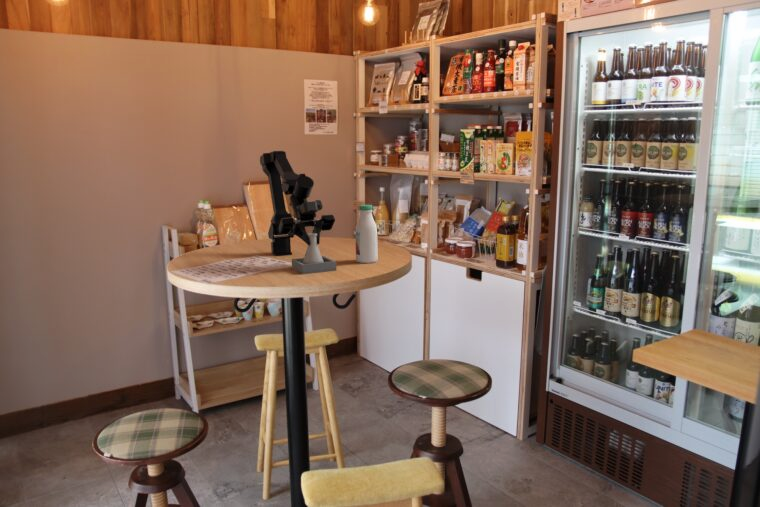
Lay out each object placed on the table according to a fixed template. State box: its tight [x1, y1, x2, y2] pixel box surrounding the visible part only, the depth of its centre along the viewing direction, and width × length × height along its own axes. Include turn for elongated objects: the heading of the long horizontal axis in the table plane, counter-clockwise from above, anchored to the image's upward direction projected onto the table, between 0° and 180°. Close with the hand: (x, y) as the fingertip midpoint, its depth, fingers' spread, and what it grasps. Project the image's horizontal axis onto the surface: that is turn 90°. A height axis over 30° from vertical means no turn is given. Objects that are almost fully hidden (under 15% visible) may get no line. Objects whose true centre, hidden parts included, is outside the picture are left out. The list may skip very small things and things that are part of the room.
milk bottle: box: [355, 204, 379, 264], centre depth 215 cm, size 8×8×20 cm
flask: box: [303, 232, 324, 264], centre depth 204 cm, size 7×7×10 cm
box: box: [290, 255, 337, 275], centre depth 204 cm, size 12×12×3 cm
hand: (314, 244), depth 202 cm, fingers closed on flask, 3 cm apart
